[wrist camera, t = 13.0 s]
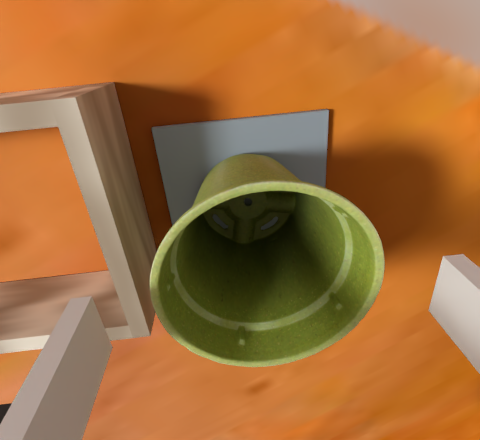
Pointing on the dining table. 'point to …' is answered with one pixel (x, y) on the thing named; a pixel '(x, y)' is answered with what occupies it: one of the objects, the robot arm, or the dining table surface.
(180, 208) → the mat
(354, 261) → the plant pot
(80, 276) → the frame
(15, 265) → the dining table surface
